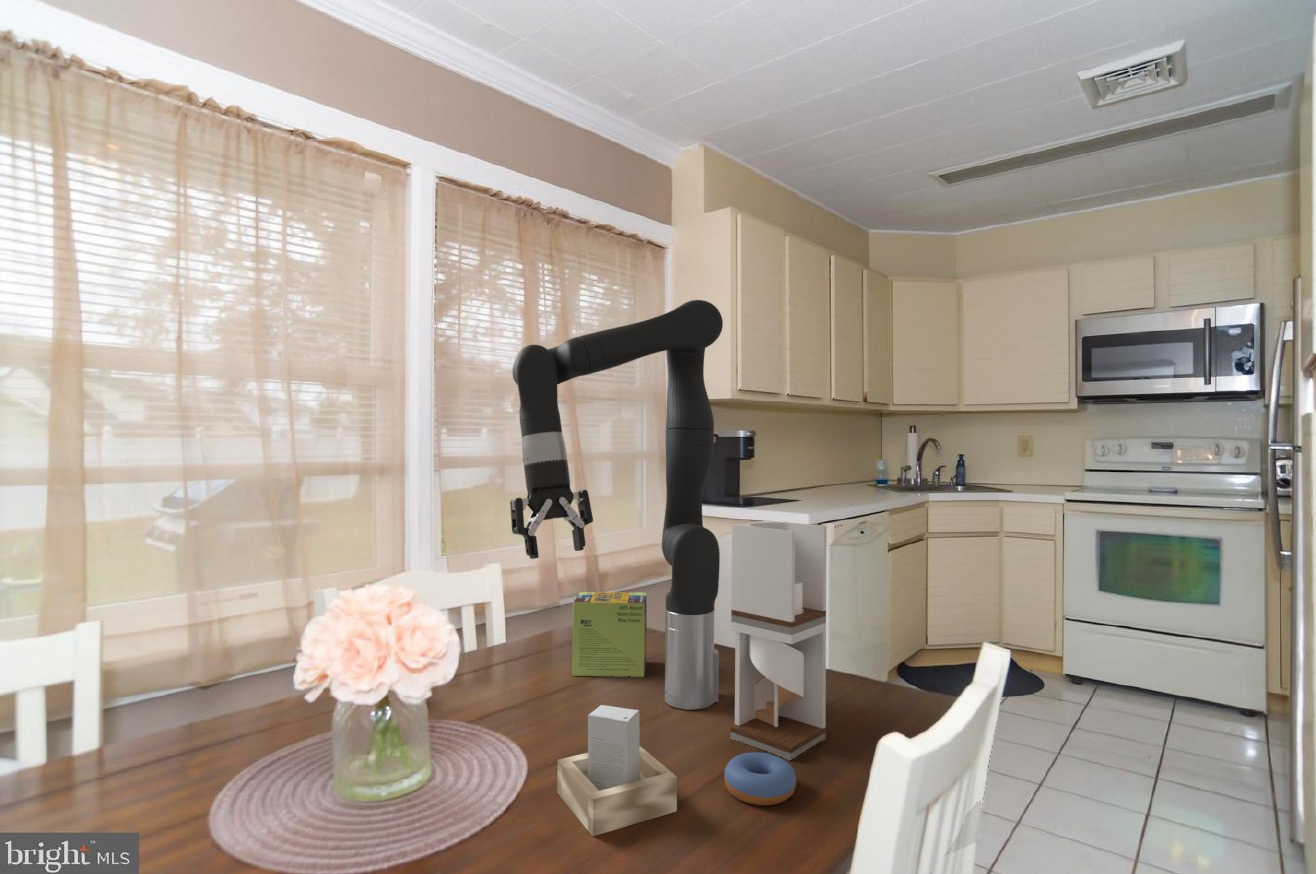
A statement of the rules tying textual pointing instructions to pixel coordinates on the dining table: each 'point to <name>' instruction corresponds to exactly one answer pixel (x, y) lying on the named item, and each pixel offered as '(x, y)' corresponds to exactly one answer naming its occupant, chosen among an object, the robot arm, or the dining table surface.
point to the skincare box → (613, 746)
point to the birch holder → (616, 794)
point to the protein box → (609, 634)
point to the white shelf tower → (779, 635)
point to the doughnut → (760, 778)
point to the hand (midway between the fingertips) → (557, 554)
